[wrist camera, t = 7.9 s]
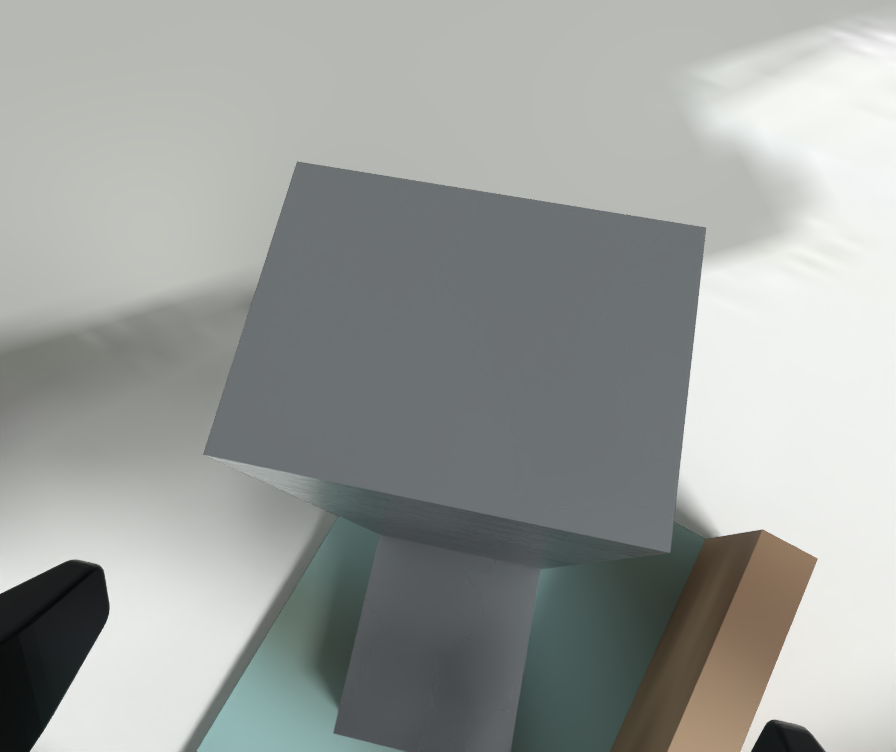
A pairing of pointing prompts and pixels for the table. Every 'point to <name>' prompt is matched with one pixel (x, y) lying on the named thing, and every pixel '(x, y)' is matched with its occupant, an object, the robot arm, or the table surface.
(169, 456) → the table surface
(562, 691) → the tray
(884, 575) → the table surface
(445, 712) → the angle bracket
